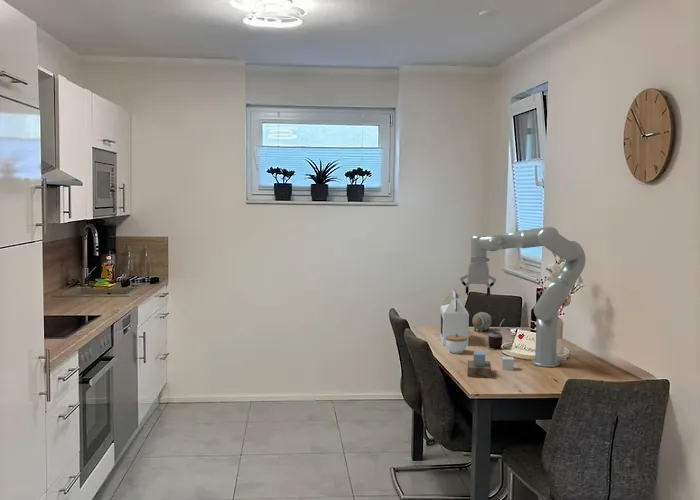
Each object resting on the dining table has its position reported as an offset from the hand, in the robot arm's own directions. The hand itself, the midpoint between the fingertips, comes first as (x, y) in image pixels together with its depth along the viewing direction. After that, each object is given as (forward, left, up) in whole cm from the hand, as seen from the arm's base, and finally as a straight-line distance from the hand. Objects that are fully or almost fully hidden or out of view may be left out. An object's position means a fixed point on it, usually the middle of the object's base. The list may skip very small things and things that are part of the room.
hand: (477, 295), depth 321 cm
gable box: (+12, -32, -31) cm, 46 cm away
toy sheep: (-4, -63, -31) cm, 71 cm away
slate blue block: (-1, +31, -26) cm, 41 cm away
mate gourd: (-10, -20, -31) cm, 38 cm away
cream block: (-14, +20, -30) cm, 39 cm away
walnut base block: (-1, +31, -30) cm, 43 cm away
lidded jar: (+10, -7, -31) cm, 33 cm away
